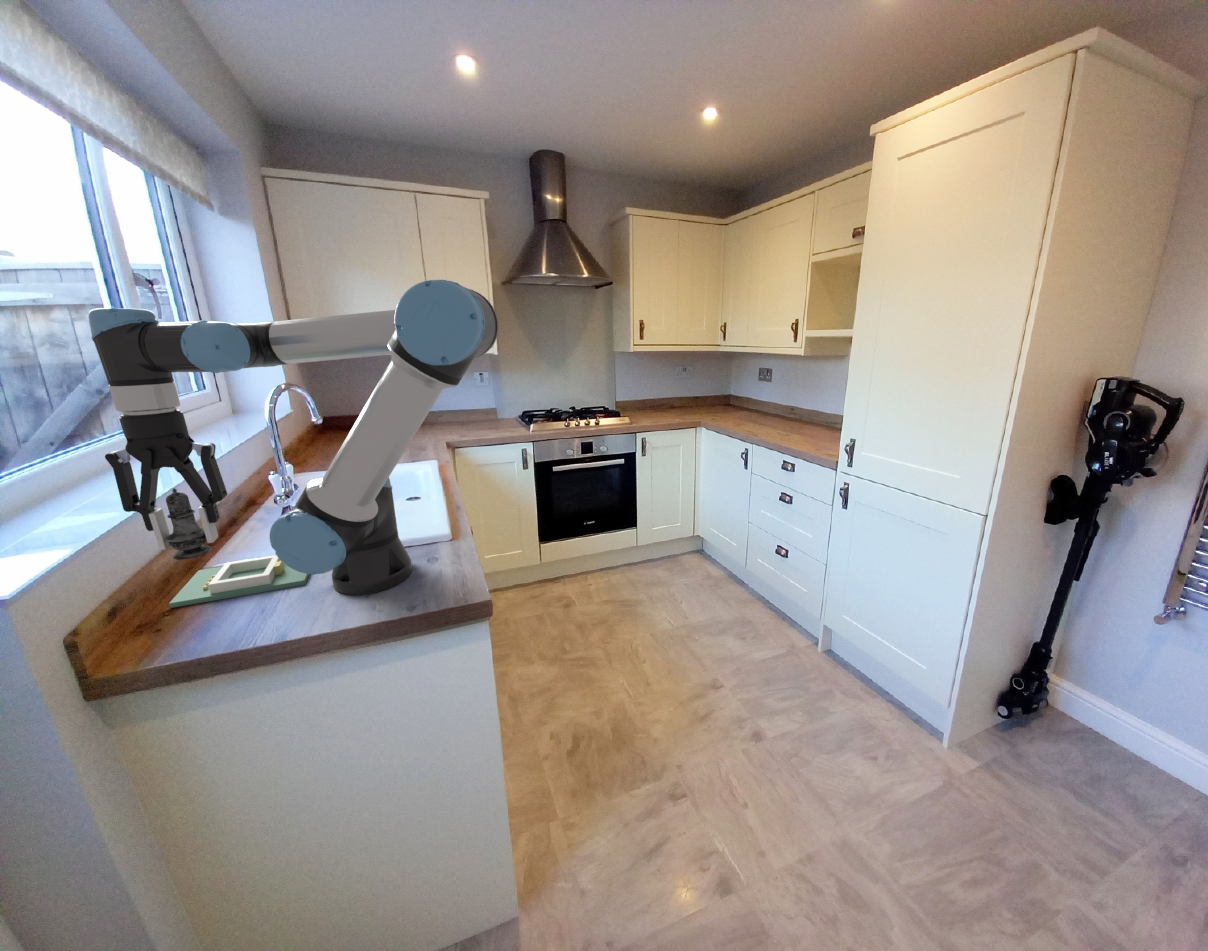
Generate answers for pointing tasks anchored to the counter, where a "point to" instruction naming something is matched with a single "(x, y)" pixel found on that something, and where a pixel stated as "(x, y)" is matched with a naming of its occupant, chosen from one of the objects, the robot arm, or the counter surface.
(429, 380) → the robot arm
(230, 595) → the header board
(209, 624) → the counter surface
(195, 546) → the dark grey tiered ornament
